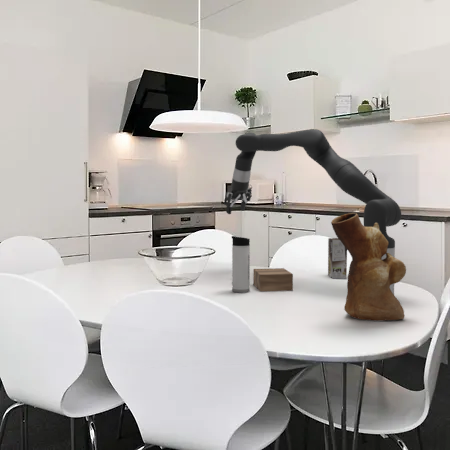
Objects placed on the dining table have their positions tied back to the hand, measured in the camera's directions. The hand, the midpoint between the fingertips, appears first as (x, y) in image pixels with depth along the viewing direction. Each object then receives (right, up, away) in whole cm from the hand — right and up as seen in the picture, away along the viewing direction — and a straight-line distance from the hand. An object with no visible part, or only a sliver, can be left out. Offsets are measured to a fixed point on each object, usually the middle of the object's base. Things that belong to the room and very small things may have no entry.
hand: (235, 211), depth 232 cm
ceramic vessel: (+36, -33, -84) cm, 97 cm away
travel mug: (+1, -30, -46) cm, 54 cm away
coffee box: (+42, -28, -14) cm, 53 cm away
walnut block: (+13, -29, -38) cm, 50 cm away
